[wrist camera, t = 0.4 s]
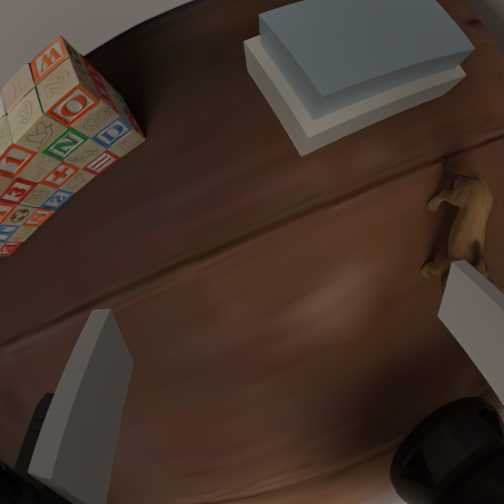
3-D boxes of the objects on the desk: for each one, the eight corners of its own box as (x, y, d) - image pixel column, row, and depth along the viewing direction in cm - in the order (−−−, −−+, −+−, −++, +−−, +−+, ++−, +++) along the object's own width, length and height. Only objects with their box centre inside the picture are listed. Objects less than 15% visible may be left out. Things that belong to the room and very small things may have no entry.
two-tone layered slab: (443, 94, 25) (488, 56, 16) (301, 156, 26) (316, 116, 17) (391, 24, 25) (417, -25, 16) (247, 71, 26) (239, 11, 17)
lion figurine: (458, 311, 25) (515, 332, 16) (415, 313, 26) (468, 340, 17) (459, 163, 25) (514, 140, 16) (416, 156, 25) (467, 126, 16)
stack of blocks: (11, 257, 28) (-70, 263, 15) (-4, 213, 28) (-79, 206, 15) (148, 139, 26) (79, 81, 14) (123, 95, 26) (60, 32, 14)
